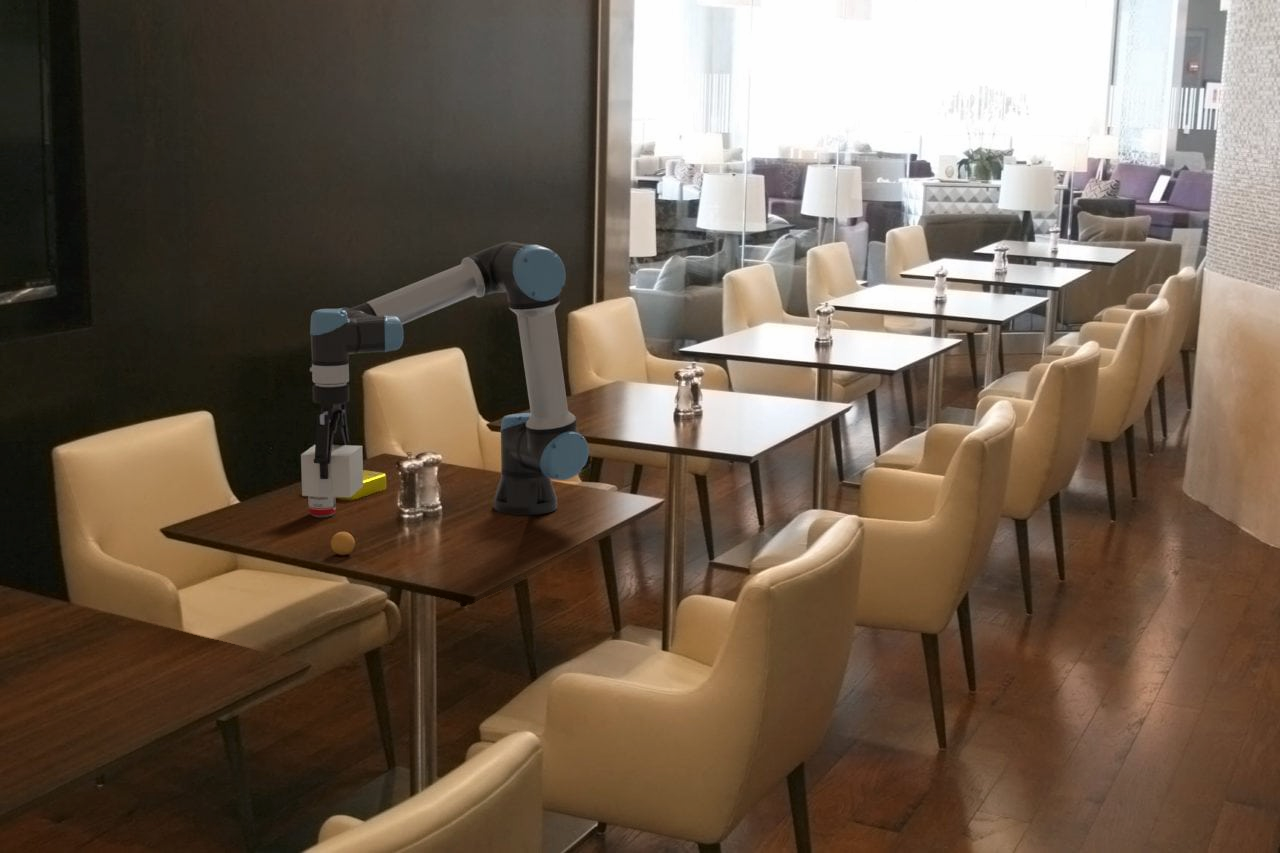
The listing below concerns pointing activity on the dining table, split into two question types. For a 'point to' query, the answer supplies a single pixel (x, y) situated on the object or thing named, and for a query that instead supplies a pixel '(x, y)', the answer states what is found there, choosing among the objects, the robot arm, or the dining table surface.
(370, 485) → the element tile
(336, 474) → the white cube
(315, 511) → the beer can
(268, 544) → the dining table surface
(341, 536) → the ball
